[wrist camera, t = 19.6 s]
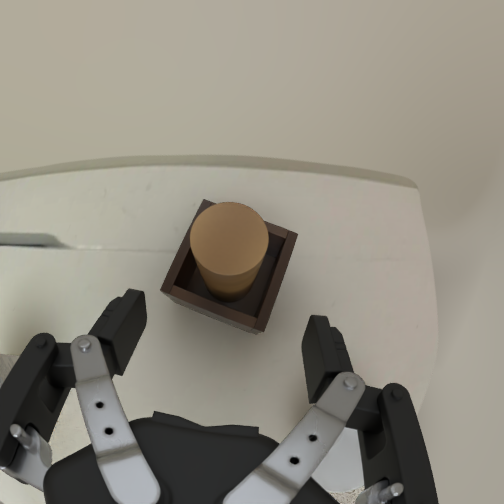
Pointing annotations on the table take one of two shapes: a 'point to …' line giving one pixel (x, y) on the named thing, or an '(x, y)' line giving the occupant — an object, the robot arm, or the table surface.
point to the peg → (229, 249)
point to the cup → (341, 465)
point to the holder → (248, 308)
